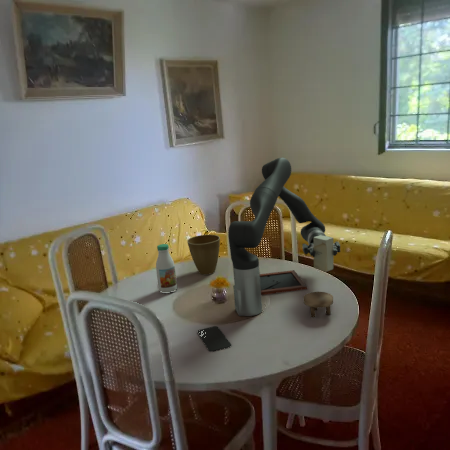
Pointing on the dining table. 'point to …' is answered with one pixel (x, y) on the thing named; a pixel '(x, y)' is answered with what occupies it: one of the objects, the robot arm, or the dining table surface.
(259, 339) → the dining table surface
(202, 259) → the plant pot
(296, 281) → the picture frame
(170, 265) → the milk bottle
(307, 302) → the stool
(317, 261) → the skincare box
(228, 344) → the phone
